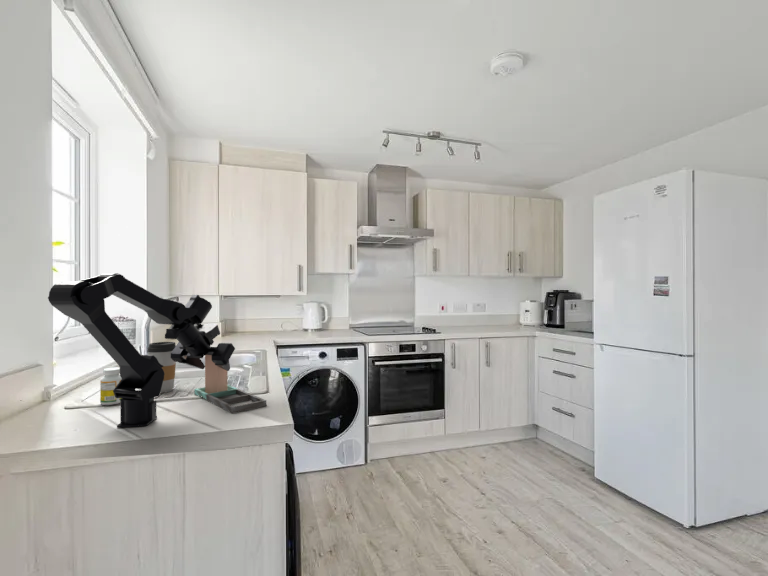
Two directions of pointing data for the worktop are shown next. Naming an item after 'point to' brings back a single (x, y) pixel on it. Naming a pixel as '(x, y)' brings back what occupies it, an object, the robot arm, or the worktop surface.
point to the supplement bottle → (109, 386)
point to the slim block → (214, 377)
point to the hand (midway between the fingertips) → (216, 368)
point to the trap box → (232, 399)
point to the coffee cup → (164, 362)
